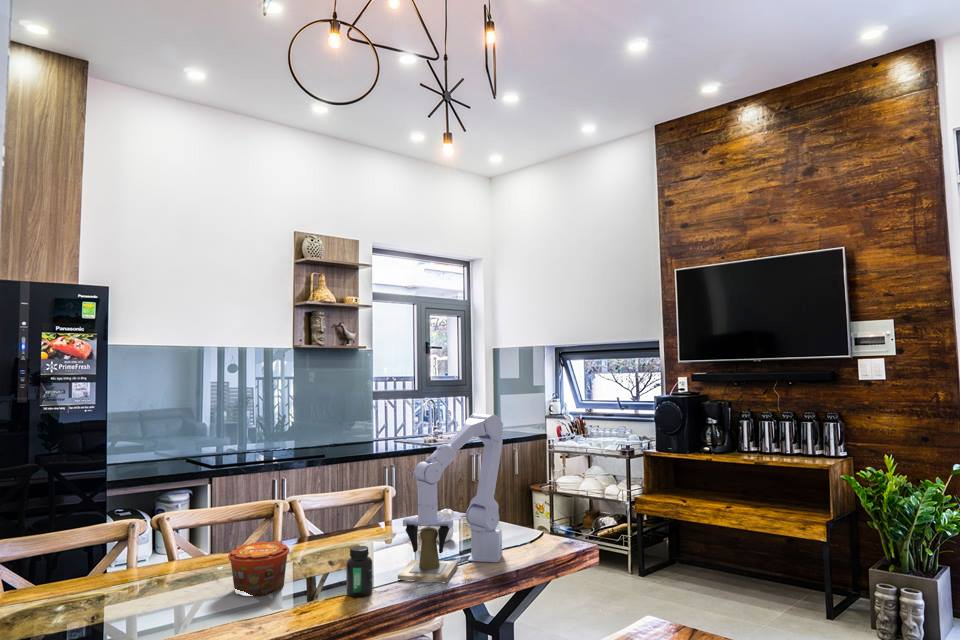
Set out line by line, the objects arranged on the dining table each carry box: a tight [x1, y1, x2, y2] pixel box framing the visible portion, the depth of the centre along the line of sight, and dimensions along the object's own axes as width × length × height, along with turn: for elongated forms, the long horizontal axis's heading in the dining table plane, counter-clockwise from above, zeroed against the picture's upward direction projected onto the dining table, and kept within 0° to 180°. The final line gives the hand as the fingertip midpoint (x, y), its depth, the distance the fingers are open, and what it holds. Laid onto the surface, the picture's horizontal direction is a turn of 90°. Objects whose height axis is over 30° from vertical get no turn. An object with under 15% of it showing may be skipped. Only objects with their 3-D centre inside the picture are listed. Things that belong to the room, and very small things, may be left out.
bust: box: [433, 508, 455, 543], centre depth 225 cm, size 12×8×11 cm
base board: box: [397, 559, 459, 584], centre depth 191 cm, size 14×14×2 cm
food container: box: [227, 541, 290, 597], centre depth 182 cm, size 16×16×11 cm
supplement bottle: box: [345, 545, 374, 599], centre depth 176 cm, size 7×7×12 cm
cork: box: [419, 526, 440, 570], centre depth 192 cm, size 6×6×11 cm
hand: (428, 551), depth 191 cm, fingers open, 7 cm apart
